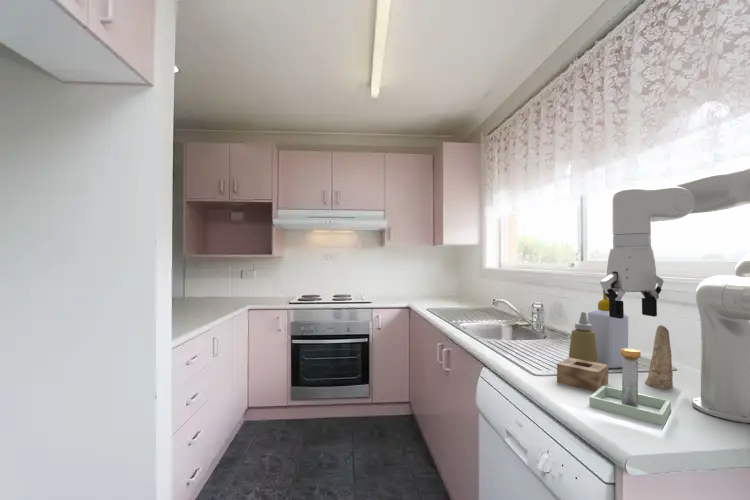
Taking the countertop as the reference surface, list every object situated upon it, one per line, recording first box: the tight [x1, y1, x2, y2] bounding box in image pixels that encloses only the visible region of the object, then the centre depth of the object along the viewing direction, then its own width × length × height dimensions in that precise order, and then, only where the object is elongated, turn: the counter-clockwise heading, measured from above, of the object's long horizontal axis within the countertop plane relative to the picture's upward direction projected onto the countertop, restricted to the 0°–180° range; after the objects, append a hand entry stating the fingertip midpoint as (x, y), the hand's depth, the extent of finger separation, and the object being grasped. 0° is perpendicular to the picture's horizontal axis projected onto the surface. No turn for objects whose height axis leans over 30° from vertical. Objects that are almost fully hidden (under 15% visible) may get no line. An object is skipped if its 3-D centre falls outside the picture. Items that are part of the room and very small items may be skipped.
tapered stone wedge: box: [644, 324, 674, 389], centre depth 102 cm, size 6×18×6 cm
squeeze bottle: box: [568, 312, 598, 363], centre depth 120 cm, size 8×8×18 cm
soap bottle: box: [587, 291, 629, 369], centre depth 126 cm, size 9×9×25 cm
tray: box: [588, 385, 672, 430], centre depth 87 cm, size 14×12×3 cm
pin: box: [621, 348, 642, 408], centre depth 87 cm, size 4×4×13 cm
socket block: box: [556, 357, 609, 393], centre depth 104 cm, size 10×10×6 cm
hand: (633, 316), depth 87 cm, fingers open, 9 cm apart
